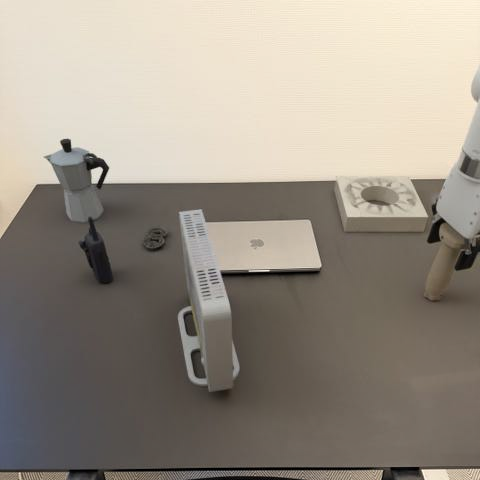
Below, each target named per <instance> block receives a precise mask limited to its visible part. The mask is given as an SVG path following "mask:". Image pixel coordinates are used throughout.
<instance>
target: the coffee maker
mask: <svg viewBox="0 0 480 480" xmlns="http://www.w3.org/2000/svg"><path fill="white" fill-rule="evenodd" d="M59 144H60V145H61V147H62V148H61V149H59V150H57V151H56V152H54V153H51V154H47V155H44V156H43V158H44V159H46V160H47V162H49V164H50V165H51V167H52V170H53V172H54V174H55V176H56V178H57V180H58V183H59V184H60V186H61V188H63V197H64V204H65V212H66V216H67V217H68V219H69V220H70V222H72V223H79V224H81V223H82V224H87V223H89V221H88V217H89V216H91V217H92V219H93V221H95V220H98V219H100V217H101V216H102V215H103V213H104V212H105V210H104V207H103V205H102V202H101V200H100V198H99V196H98V194H97V192H96V189H95V187H96V188H97V189H98V190H101V189H102V187H103V185H104V182H105V180H106V177H107V175H108V173H109V170H110V166H109V165H108V163H107V162H106V160H105V159H104V158H101V157H98V156H97V155H96V154H95V153H94V152H93V153H92V152H90V151H89V150H87V149H84V148H81V147H78V146H77V147H72V139H70V138H63V139H60V141H59ZM98 168H101V169H102V171H101V174H100V176H99V178H98V181H97V183H96V185H95V187H94V185H93V183H92V177H93V176H92V170H95V169H98Z"/></svg>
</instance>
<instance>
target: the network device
mask: <svg viewBox="0 0 480 480" xmlns="http://www.w3.org/2000/svg"><path fill="white" fill-rule="evenodd" d="M178 217H179V226H180V227H179V228H180V235H181V243H182V244H181V245H182V252H183V253H182V254H183V261H184V271H185V279H186V280H185V281H186V287H187V294H188V299H189V303H190V305H189V306H186V307H184V308H182V309H181V310H180V311H179V313H178V315H177V320H178V321H177V322H178V327H179V333H180V339H181V343H182V349H183V350H182V351H183V355H184V360H185V361H184V362H185V366H186V367H185V368H186V372H187V376H188V379H189V381H190V382H191V383H192V384H194V385H195V386H197V387H207V388H208V389H207V390H208V392H209V393H214V392H220V391H224V390H231V389H233V388H234V381H235V380H236V378H237V377H238V376H239V374H240V363H239V359H238V356H237V352H236V349H235V344H234V341H233V320H232V319H233V318H232V317H233V316H232V310H231V305H230V301H229V298H228V294H227V291H226V287H225V284H224V281H223V280H224V279H223V276H222V273H221V270H220V267H219V263H218V261H217V257H216V254H215V250H214V246H213V243H212V239H211V236H210V233H209V229H208V226H207V222H206V219H205V216H204V213H203V209H193V210H185V211H184V210H183V211H178ZM187 314H192V316H193V317H192V318H193V323H194V327H195V332H196V335H194V336H191V335H188V334H187V331H186V326H185V325H186V324H185V320H184V316H185V315H187ZM198 351H200V355H201V357H200V362H201V366H203V369H204V374H205V377H204V378H198V377H196V375H195V372H194V367H193V361H192V354H193V353H194V352H198Z"/></svg>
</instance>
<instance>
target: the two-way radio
mask: <svg viewBox="0 0 480 480" xmlns="http://www.w3.org/2000/svg"><path fill="white" fill-rule="evenodd" d="M88 221H89V222H88V224H89V227H88V232H87V233H86V234H85V235H84V240H79V241H78V245H79V248H81V249H82V250H83V252H84V254H85V257H86V261H87V263H88V266H89V268H90V269H92V273H93V275H94V278H95V279H96V281H97V282H98V283H100V284H107V283H111V282H112V281H113V280H114V275H113V270H112V266H111V262H110V258H109V255H108V253H107V249H106V245H105V241H104V239H103V237H102V235H101V234H100V233H99V232H98V231H97V228H96V225H95V222H94V220H93V219H92V217H91V216H89V217H88Z"/></svg>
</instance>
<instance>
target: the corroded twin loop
mask: <svg viewBox="0 0 480 480" xmlns="http://www.w3.org/2000/svg"><path fill="white" fill-rule="evenodd" d="M145 234H146V235H147V236H146V237H144V238H143V239H142V241H141V243H142V244H143V246H144V247H146V248H147V249H149V250H151V251H152V250H153V251H155V250H157V249H159V248H162V247H163V246H164V245H165V244H164V243H165V242H166V240H165V238H166V237H167V234H168V230H167V229H166V228H164V227H162V226H159V225H158V226H154V227H150V228H149V229H147V230H146V233H145Z"/></svg>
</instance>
